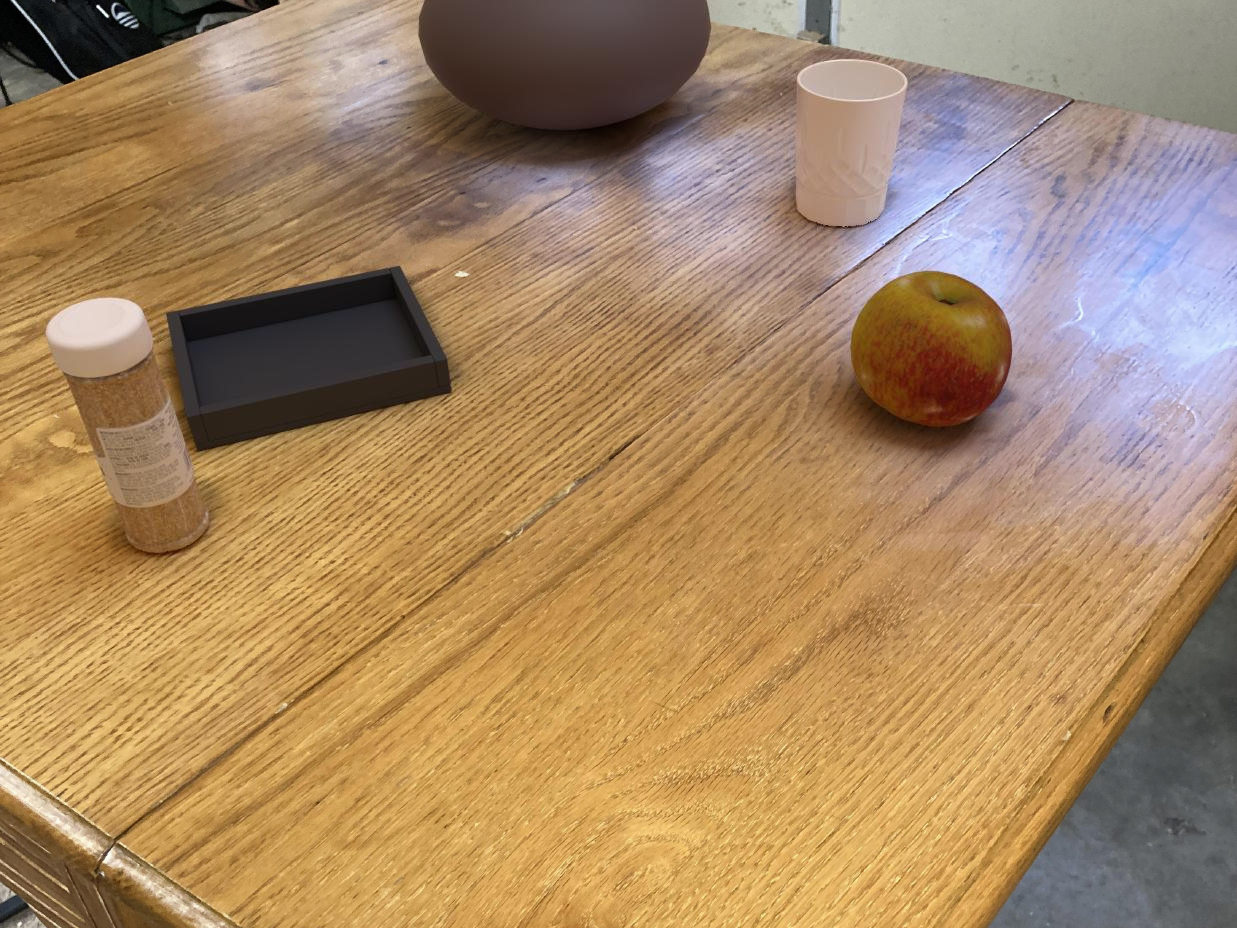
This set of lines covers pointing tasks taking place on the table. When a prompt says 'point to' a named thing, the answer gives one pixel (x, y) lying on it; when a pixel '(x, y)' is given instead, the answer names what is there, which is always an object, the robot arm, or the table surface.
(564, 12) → the flattened ellipsoid
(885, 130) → the pale pink cup
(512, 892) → the table surface
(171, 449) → the sprinkles bottle
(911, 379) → the fruit
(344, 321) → the tray
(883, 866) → the table surface
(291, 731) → the table surface
